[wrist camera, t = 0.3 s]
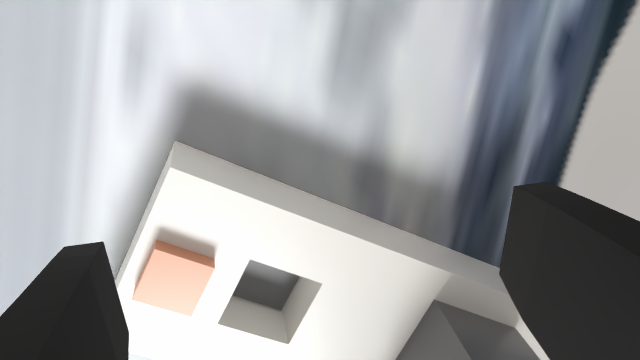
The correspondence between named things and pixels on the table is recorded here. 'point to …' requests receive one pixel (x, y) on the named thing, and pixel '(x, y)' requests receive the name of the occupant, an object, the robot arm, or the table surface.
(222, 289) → the power strip
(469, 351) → the block
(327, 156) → the table surface
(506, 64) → the table surface
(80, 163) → the table surface
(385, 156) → the table surface
